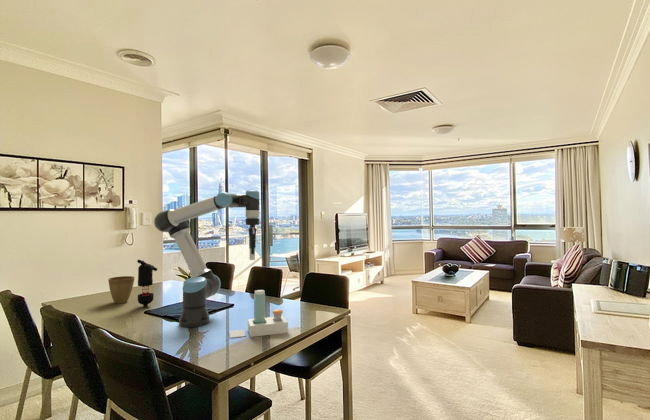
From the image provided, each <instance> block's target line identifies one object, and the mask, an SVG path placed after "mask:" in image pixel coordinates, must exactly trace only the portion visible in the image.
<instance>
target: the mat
mask: <svg viewBox="0 0 650 420" xmlns="http://www.w3.org/2000/svg"><path fill="white" fill-rule="evenodd" d="M245 331H246V330H245V329H237V330H236V329H235V330H229V337H230V338H229V339H236V338H245V337H246V332H245Z"/></svg>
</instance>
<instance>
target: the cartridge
mask: <svg viewBox="0 0 650 420" xmlns="http://www.w3.org/2000/svg"><path fill="white" fill-rule="evenodd" d="M253 294H254V295H253V296H254V297H253V301H254V302H253V306H254V307H253V319H254V324H261V323H265V318H266V293H265V290H264V289H257V290H254V293H253Z"/></svg>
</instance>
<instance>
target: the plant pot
mask: <svg viewBox="0 0 650 420" xmlns="http://www.w3.org/2000/svg"><path fill="white" fill-rule="evenodd" d="M107 280H108V287H109V292H110V295H111V297H112V301H113V303H114V304H123V303H124V304H125V303H127V302H128V301H129V299H130V296H131V293H132V291H133V287H134V282H135V276H133V275H132V276H131V275H130V276H127V275H125V276H123V275H122V276H114V277H109V278H107Z"/></svg>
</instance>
